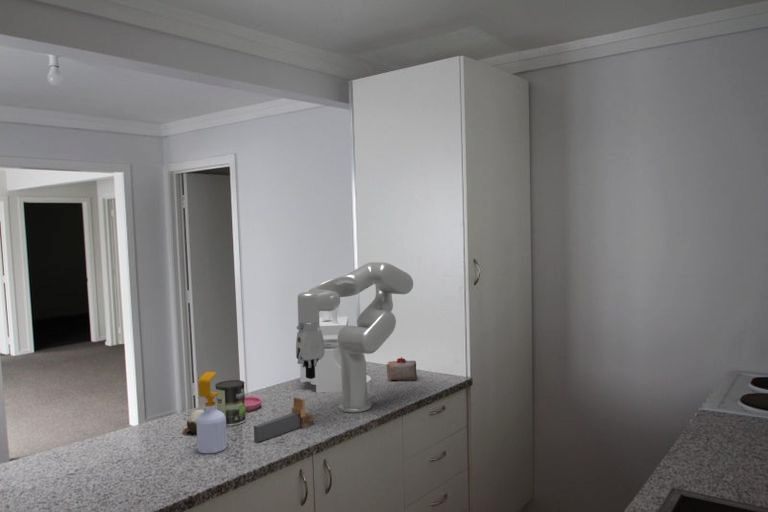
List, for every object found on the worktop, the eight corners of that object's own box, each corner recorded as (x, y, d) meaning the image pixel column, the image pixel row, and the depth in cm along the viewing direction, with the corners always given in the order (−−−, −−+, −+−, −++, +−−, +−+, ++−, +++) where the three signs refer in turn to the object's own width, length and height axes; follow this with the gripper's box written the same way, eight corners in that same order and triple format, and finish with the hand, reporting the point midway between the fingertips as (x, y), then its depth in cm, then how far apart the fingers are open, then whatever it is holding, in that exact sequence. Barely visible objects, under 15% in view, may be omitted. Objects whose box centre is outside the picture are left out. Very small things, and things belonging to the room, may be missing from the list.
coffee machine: (305, 379, 278) (301, 304, 277) (370, 376, 279) (367, 301, 277) (299, 394, 254) (295, 312, 253) (371, 390, 255) (367, 308, 253)
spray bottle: (232, 445, 196) (229, 370, 195) (216, 455, 188) (212, 377, 186) (209, 442, 199) (205, 369, 198) (191, 452, 191) (188, 375, 189)
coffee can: (250, 417, 224) (249, 380, 224) (238, 426, 214) (236, 387, 214) (225, 416, 226) (223, 379, 226) (211, 425, 216) (210, 386, 216)
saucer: (267, 409, 235) (267, 401, 234) (236, 415, 228) (236, 407, 227) (254, 402, 245) (254, 394, 245) (225, 408, 238) (224, 400, 238)
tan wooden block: (296, 413, 214) (295, 397, 214) (305, 416, 211) (304, 399, 211) (292, 415, 213) (291, 398, 212) (300, 417, 210) (300, 400, 209)
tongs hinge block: (305, 421, 217) (305, 412, 217) (313, 424, 214) (313, 414, 214) (294, 425, 213) (294, 415, 213) (303, 428, 211) (302, 418, 210)
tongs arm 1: (295, 425, 212) (295, 411, 212) (297, 426, 212) (297, 412, 212) (254, 440, 199) (253, 425, 198) (256, 441, 198) (255, 426, 198)
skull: (192, 421, 219) (208, 401, 217) (211, 441, 217) (228, 422, 215) (172, 431, 207) (189, 410, 205) (192, 453, 206) (209, 432, 203)
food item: (386, 382, 269) (385, 360, 268) (387, 377, 277) (386, 356, 276) (417, 381, 268) (416, 359, 267) (416, 377, 276) (416, 355, 275)
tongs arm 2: (298, 426, 212) (297, 412, 211) (300, 427, 211) (299, 413, 211) (256, 441, 198) (255, 426, 198) (258, 442, 197) (257, 427, 197)
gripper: (300, 331, 207) (301, 384, 208) (331, 325, 218) (332, 375, 219) (285, 329, 212) (287, 380, 213) (317, 323, 223) (318, 372, 224)
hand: (310, 377), depth 216 cm, fingers closed
